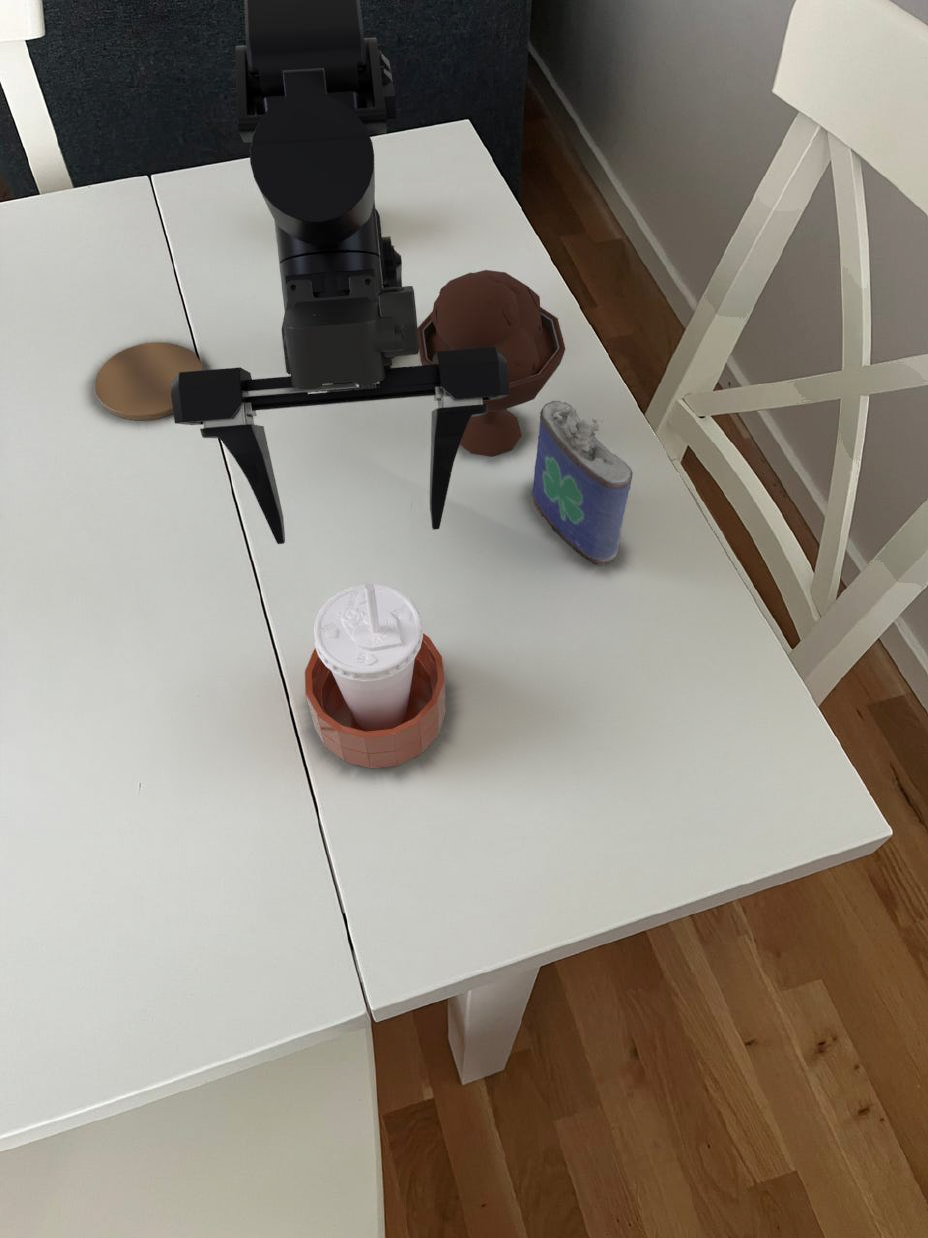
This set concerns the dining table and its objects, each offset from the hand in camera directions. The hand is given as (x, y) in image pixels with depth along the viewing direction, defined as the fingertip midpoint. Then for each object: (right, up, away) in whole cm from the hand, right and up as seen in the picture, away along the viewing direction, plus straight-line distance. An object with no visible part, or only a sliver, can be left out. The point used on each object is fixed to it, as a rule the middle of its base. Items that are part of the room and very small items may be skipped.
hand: (359, 536), depth 59 cm
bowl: (+1, -11, +7) cm, 13 cm away
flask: (+14, +2, +16) cm, 22 cm away
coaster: (-20, +15, +25) cm, 35 cm away
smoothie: (+1, -11, +7) cm, 13 cm away
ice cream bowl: (+8, +10, +22) cm, 25 cm away
